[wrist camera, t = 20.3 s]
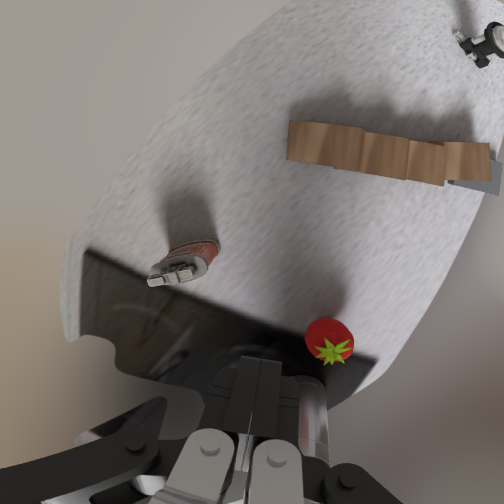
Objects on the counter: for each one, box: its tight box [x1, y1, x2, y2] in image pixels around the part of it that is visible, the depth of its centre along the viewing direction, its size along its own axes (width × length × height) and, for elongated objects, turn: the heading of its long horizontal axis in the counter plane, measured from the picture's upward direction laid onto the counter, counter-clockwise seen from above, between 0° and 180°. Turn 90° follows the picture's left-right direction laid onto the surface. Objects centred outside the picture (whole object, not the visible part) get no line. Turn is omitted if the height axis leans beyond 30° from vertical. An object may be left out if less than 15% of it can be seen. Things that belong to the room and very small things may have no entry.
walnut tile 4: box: [428, 142, 492, 182], centre depth 32 cm, size 2×5×9 cm
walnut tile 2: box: [334, 132, 410, 180], centre depth 34 cm, size 2×5×9 cm
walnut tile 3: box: [406, 140, 447, 186], centre depth 34 cm, size 2×5×9 cm
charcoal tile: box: [448, 160, 502, 195], centre depth 34 cm, size 2×5×9 cm
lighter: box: [147, 239, 221, 287], centre depth 40 cm, size 8×3×10 cm, turn 106°
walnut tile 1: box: [286, 120, 366, 171], centre depth 35 cm, size 2×5×9 cm
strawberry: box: [305, 318, 354, 366], centre depth 41 cm, size 6×8×10 cm
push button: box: [454, 22, 504, 68], centre depth 24 cm, size 7×5×10 cm
